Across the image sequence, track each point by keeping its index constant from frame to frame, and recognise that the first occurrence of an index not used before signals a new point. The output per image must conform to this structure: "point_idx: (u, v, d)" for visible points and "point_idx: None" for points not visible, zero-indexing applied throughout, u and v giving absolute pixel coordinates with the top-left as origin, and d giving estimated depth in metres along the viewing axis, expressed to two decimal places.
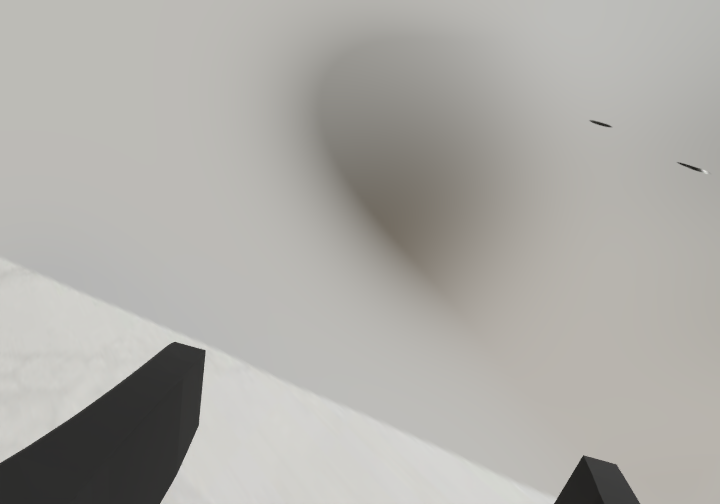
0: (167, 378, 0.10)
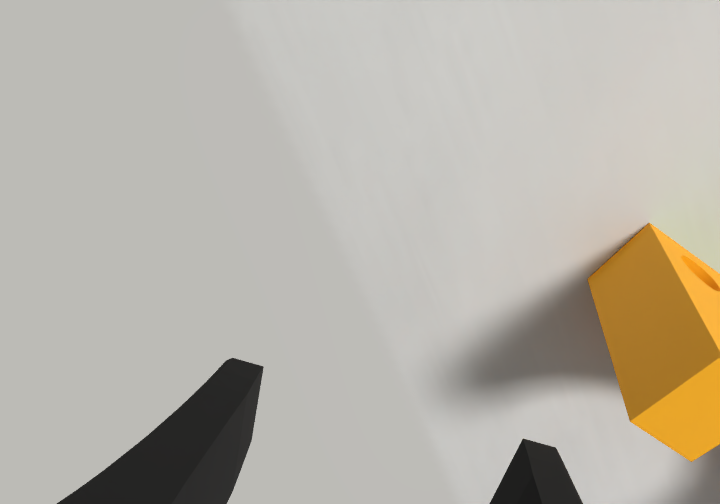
0: (231, 396, 0.10)
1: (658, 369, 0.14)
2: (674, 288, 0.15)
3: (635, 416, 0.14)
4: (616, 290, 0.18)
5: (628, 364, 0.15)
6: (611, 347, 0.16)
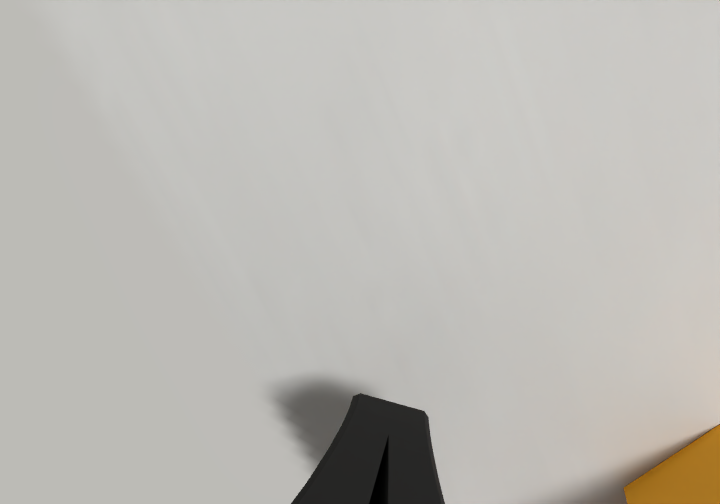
0: (374, 437, 0.10)
1: None
2: None
3: None
4: None
5: None
6: None
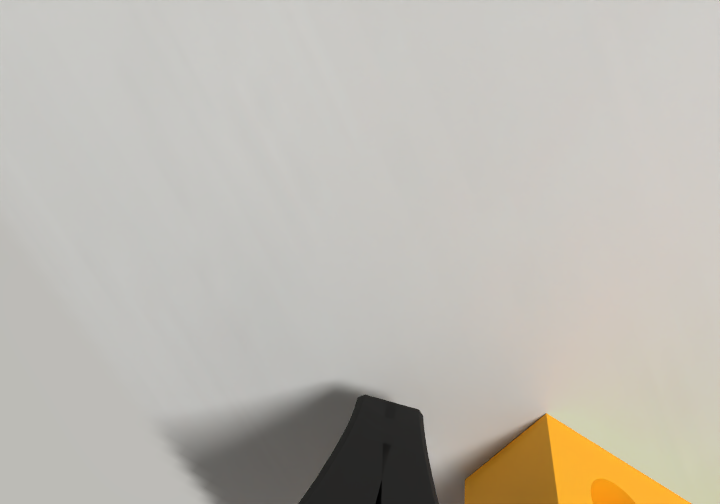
0: (379, 438, 0.10)
1: None
2: None
3: None
4: None
5: None
6: None
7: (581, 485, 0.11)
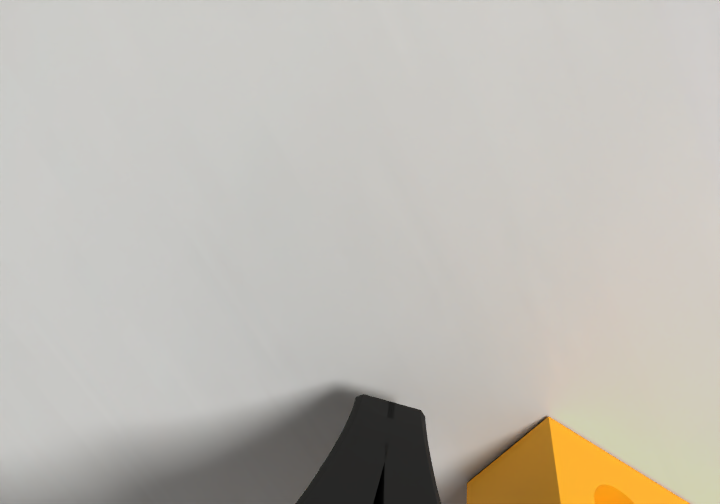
0: (377, 438, 0.10)
1: None
2: None
3: None
4: None
5: None
6: None
7: (584, 491, 0.11)
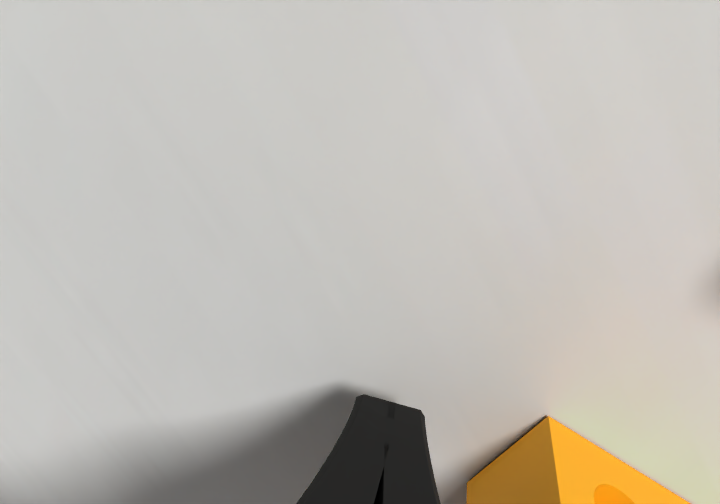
0: (377, 438, 0.10)
1: None
2: None
3: None
4: None
5: None
6: None
7: (584, 491, 0.11)
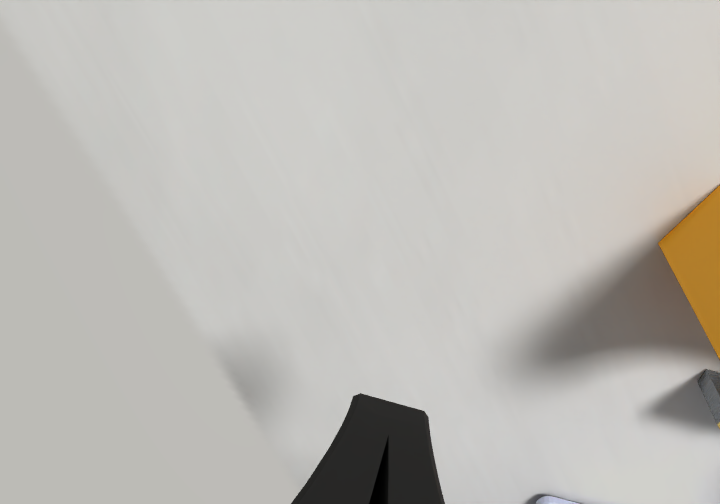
0: (374, 437, 0.10)
1: None
2: None
3: None
4: (695, 251, 0.17)
5: None
6: (697, 309, 0.16)
7: None
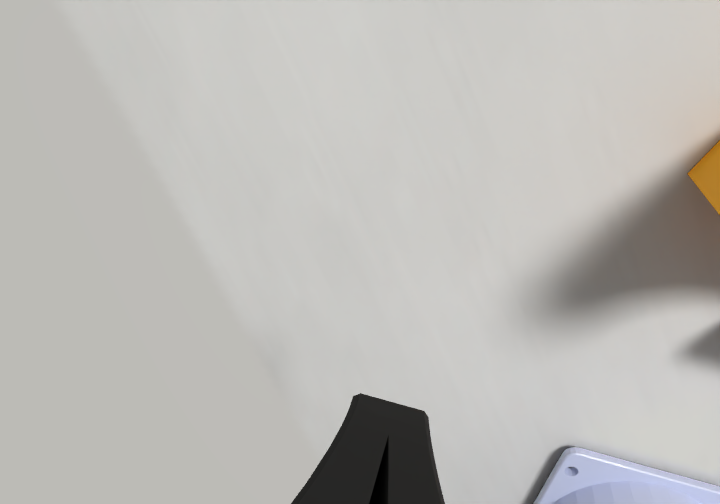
0: (374, 436, 0.10)
1: None
2: None
3: None
4: None
5: None
6: None
7: None
